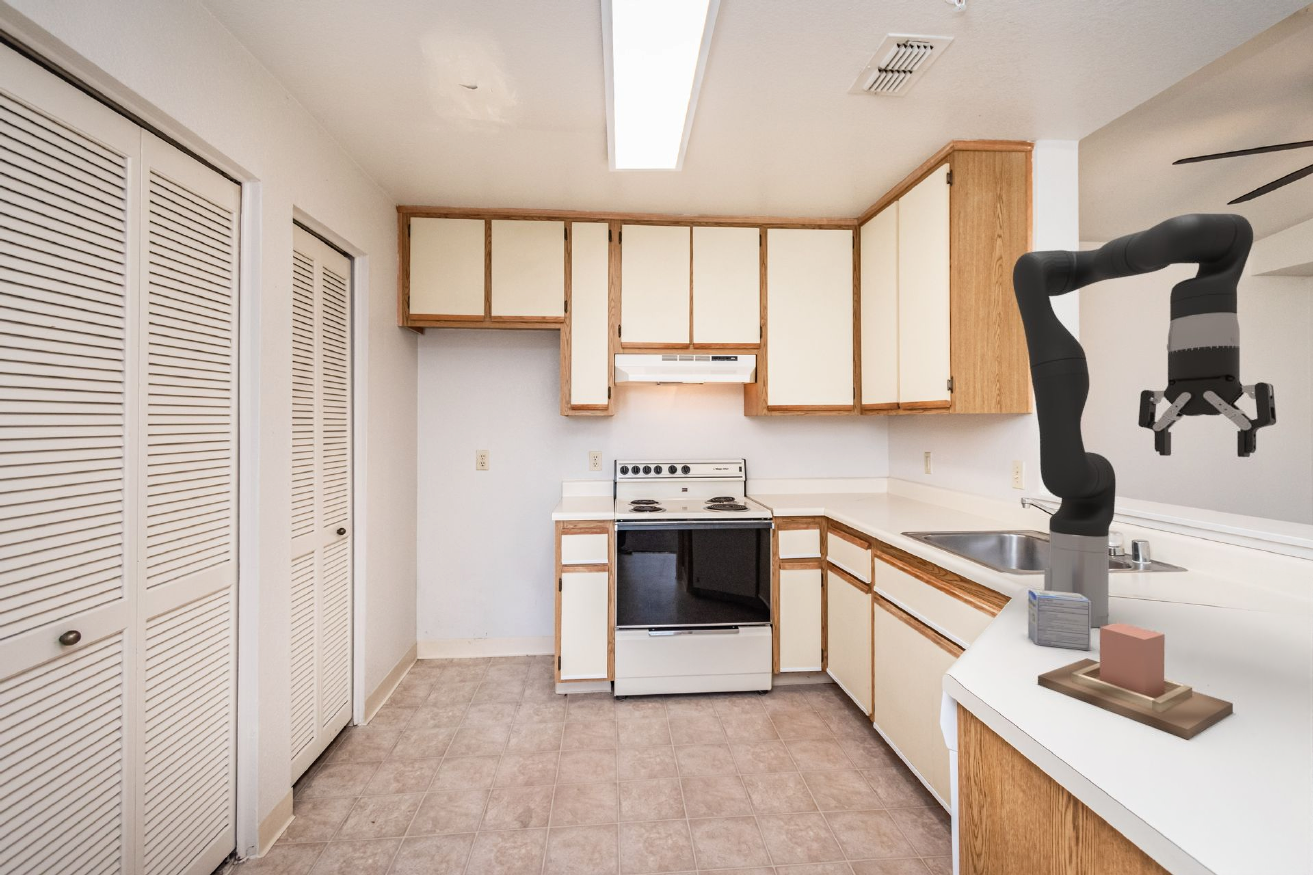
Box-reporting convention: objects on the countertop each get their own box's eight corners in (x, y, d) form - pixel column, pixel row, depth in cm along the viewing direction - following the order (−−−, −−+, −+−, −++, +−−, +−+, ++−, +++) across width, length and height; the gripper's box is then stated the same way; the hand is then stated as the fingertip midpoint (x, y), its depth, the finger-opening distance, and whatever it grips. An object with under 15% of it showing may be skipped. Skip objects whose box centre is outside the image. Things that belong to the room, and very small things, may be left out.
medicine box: (1080, 642, 93) (1080, 593, 93) (1091, 651, 89) (1091, 600, 89) (1027, 636, 96) (1027, 588, 96) (1036, 645, 91) (1036, 595, 92)
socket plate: (1037, 683, 77) (1037, 667, 77) (1086, 665, 83) (1087, 650, 83) (1187, 739, 62) (1187, 719, 62) (1232, 712, 69) (1232, 693, 69)
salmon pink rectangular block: (1099, 684, 74) (1099, 627, 74) (1119, 678, 76) (1119, 622, 76) (1144, 701, 69) (1144, 639, 69) (1164, 693, 71) (1164, 634, 71)
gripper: (1282, 343, 75) (1282, 457, 75) (1152, 356, 88) (1152, 455, 87) (1263, 337, 72) (1263, 457, 71) (1131, 352, 84) (1130, 455, 84)
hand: (1202, 456), depth 79 cm, fingers open, 8 cm apart
